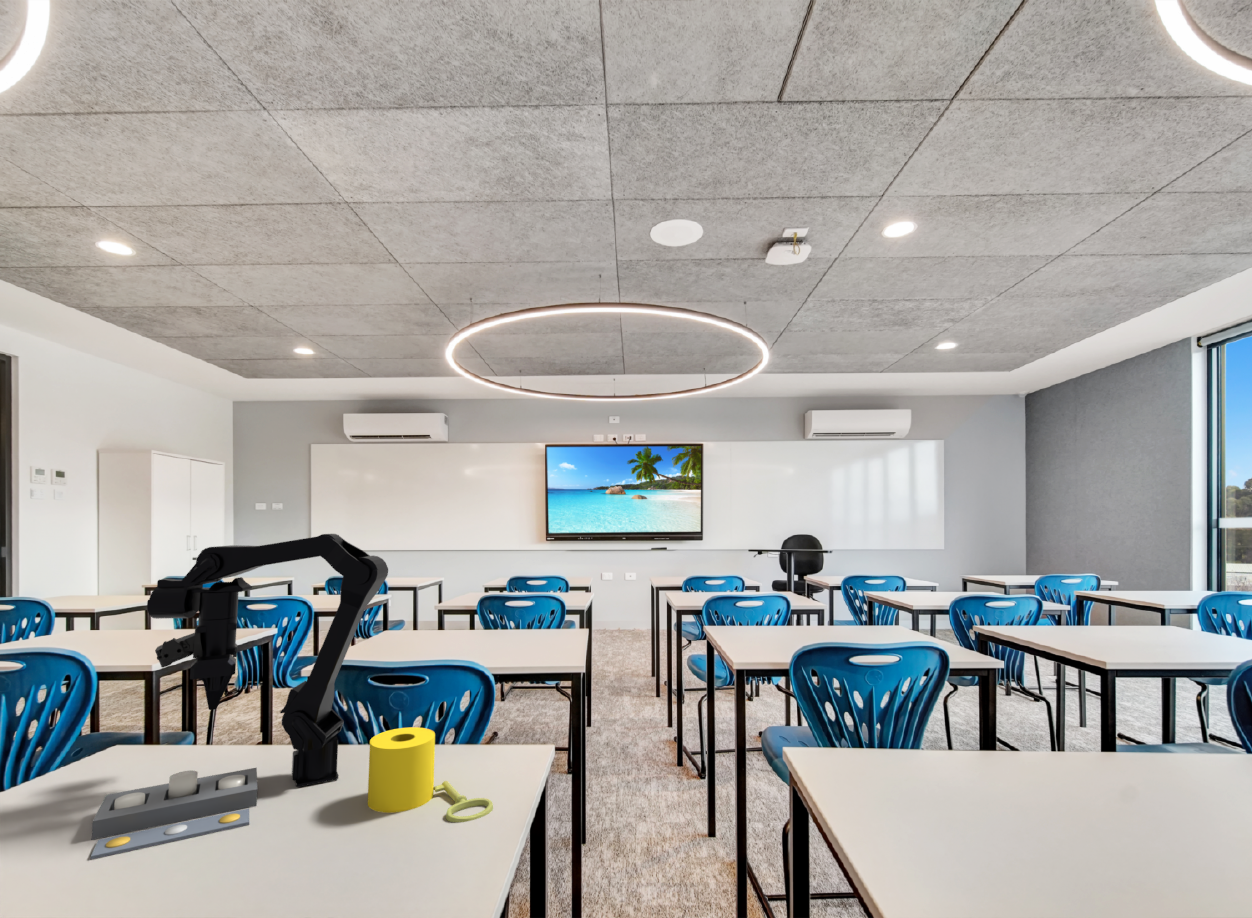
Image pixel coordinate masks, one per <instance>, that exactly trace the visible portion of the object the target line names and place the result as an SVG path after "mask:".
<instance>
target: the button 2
mask: <svg viewBox="0 0 1252 918" xmlns="http://www.w3.org/2000/svg"><path fill="white" fill-rule="evenodd" d="M243 785H245V776H244V775H232V776H227V777H225V778H222V779H221V780H219V786H218V790H222V789H227V788H232V787H237V786H243Z"/></svg>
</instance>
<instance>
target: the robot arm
mask: <svg viewBox="0 0 1252 918" xmlns="http://www.w3.org/2000/svg"><path fill="white" fill-rule="evenodd" d="M316 557H317V558H318V557H321V558H322V559H324V560H325V562H326V563H328V564H329V566H330V567H332V569H333V570H334V571H336V572H337V573H338V574H340V575H341V576H342V580H341V585H340V593H339V594H340V596H339V597H340V599H339V600H340V601H339V605H338V608H337V610H336V612H335V614H334V617H333V619H332V621H331V624H330V626H329V629H328V631H327V634H326V636H325V637H324V641H323V643H322V645H321V647H320V650H319V653H318V655H317V657H316V659H315V662H314V664H313V667H312V668H311V671H310V674H309V676H308V678H307V680H304V681H302V682H300V683H298V684H297V685H295V686H294V687H292V688H291V689H290V690H289V692H288V695H287V699H286V703H285V705H284V707H283V708H281V710H280V711H279V713H280V714H282V718H281V726H282V728H283V730H284V732H286V734H288V736H289V740H290V743H291V746H292V748H293V751H292V761H291V779H292V781H293V782H295V787H296V788H301V787H306V786H309V785H314V784H321V783H326V782H330V781H336V780H338V779H339V776H340V775H339V773H338V754H339V738H338V736H337V734H339V733H340V732H341V730H342V728H343V725H344V722H345V721H344V719H343V718H342V717H341V716H340V715H339V714H338V713H337V712H336V711H335V710H334V709H333V702H334V699H335V682H336V679H337V677H338V674H339V672H340V670H341V667H342V665H343V662H344V661H345V657H346V655H347V653H348V651H349V647H350V645H351V643H352V640H353V638H354V636H355V634H356V632H357V629H358V626H359V624H360V622H361V619H362V617H363V615H364V612H365V609H366V607H367V606H368V605H369V603H370V602H371V601H372V600H373V598H374V597H375V596H376V595H377V593H378V592H379V591H380V589H381V587H382V585H383V584H384V583H385V582H386V579H387V578H388V575H389V567H388V565H387V563H386V561H385V560H384V559H383V558H381V557H380V556H378V555H370V554H369V553H368V552H366V551H365V550H362V549H361V548H359V547H357V546H355V545H354V544H352V543H350V542H349V541H346V540H345V539H344V538H343V537H341V536H340V535H339V534H337V533H322V534H320V535H318V536H313V537H306V538H301V539H300V538H299V539H294V540H289V541H288V540H287V541H281V542H275V543H270V544H263V545H262V544H261V545H239V544H238V545H233V544H232V545H222V546H221V545H220V546H219V545H218V546H209V547H208V546H207V547H206V548H204V549H202V550H201V551H200V552H199V554H198V556H197V557H196V560H195V564H194V565H193V566H192V567H191V569H190V570H189V571H188V572H187V574H185V576H184V577H183V578H182V579H176V578H175V579H174V578H162V579H158V580H157V582H156V587H155V588H154V589H153V590H152V592H151V593H150V596H149V599H147V602H146V607H147V613H148V615H149V616H150V617H151V619H190V618H193V617H194V616H196V614H197V613H198V623H197V625H196V627H195V628H194V632H193V633H190V634H187V635H185V636H181V637H179V638H178V637H177V638H175V637H173V638H172V639H170V640H165V641H163V643H162V644H161V645H158V646H157V647H156V648H155V653H156V659H157V661H158V662H159V664H160V667H161V668H165V667H169V666H170V665H172V664H173V663H175V662H178V661H181V660H183V659H185V658H188V657H191V656H192V659H195V660H194V661H193V662H192V663H191V665H190V669H189V680H200V681H201V682H203V687H204V692H205V698H206V703H207V707H208V710H209V711H214V710H216V709H218V706H219V704H220V702H221V699H222V698H223V696H224V693H225V691H226V689H227V687H228V686H229V683H230V681H231V679H232V677H233V675H236V666H237V665H236V663H237V655H238V644H237V642H236V641H237V629H238V627H237V625H238V624H237V623H238V607H239V606H238V605H239V593H242V592H246V591H251V590H252V589H253V586H252V585H250V584H249V583H248V582H246V581H245V580H244V578H243V577H236V576H238V575H242V574H244V573H248V572H250V571H253V570H257V569H258V568H261V567H263V566H264V567H265V566H267V565H269V566H270V565H274V564H280V563H287V562H293V561H298V560H304V559H310V558H316ZM233 577H236V578H234V579H233V580H232V581H221V580H223V579H226V578H233ZM207 584H212V585H211V586H209V587H203V586H204V585H207Z"/></svg>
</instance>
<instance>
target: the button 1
mask: <svg viewBox="0 0 1252 918" xmlns="http://www.w3.org/2000/svg"><path fill="white" fill-rule="evenodd" d="M143 804H145V793H131V794H127V795H123V796H121V797H119V798H117V799H116V800H115V803H114V810H117V809H122V808H127V807H132V806H138V805H143Z"/></svg>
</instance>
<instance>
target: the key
mask: <svg viewBox="0 0 1252 918" xmlns="http://www.w3.org/2000/svg"><path fill="white" fill-rule="evenodd" d="M433 790H434V792H435V793H438V792H442V791H445V793H446V794H448V796H449V797H450V798H451V800H453V802H454V804H453V805H450V807H448V809H447V811H446V814H445V818H446V821H448V822H451V823H464V822H465V823H466V822H470V821H475V820H477V819H480V818H483V817H485V816H487V815H489V814H490V813H491V812H493V809H494V804H493V801H492V800H490V799H489V798H485V797H476V798H470V799H467V798H468V797H466V795H463V794H462V795H461V793H459V792H458V790H456V788H455V787H454V786H452V784H451V783H450V782H449V781H448V780H443V782H442V783H441V784H440V785H435V786H434V788H433ZM481 806H484V807H486V808H484V809H483V810H482V811H480V812H478V813H475V814H471V815H466V816H464V815H463V816H462V815H459V816H458V815H455V813H457V812H460V811H463V810H465V809H466V810H467V809H469V808H473V807H481Z"/></svg>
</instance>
